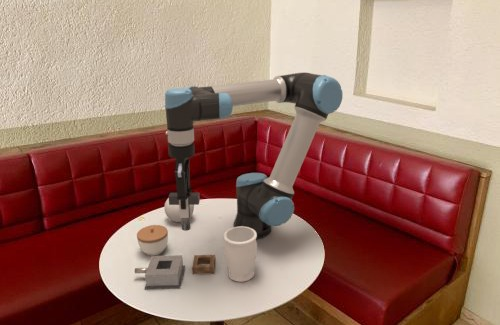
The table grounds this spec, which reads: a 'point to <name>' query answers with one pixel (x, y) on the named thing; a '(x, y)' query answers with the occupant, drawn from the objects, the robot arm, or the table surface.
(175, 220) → the decorative ball
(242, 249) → the jar
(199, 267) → the key stand
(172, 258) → the square block with stud
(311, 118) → the robot arm
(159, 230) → the lidded jar
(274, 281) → the table surface
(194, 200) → the bar
